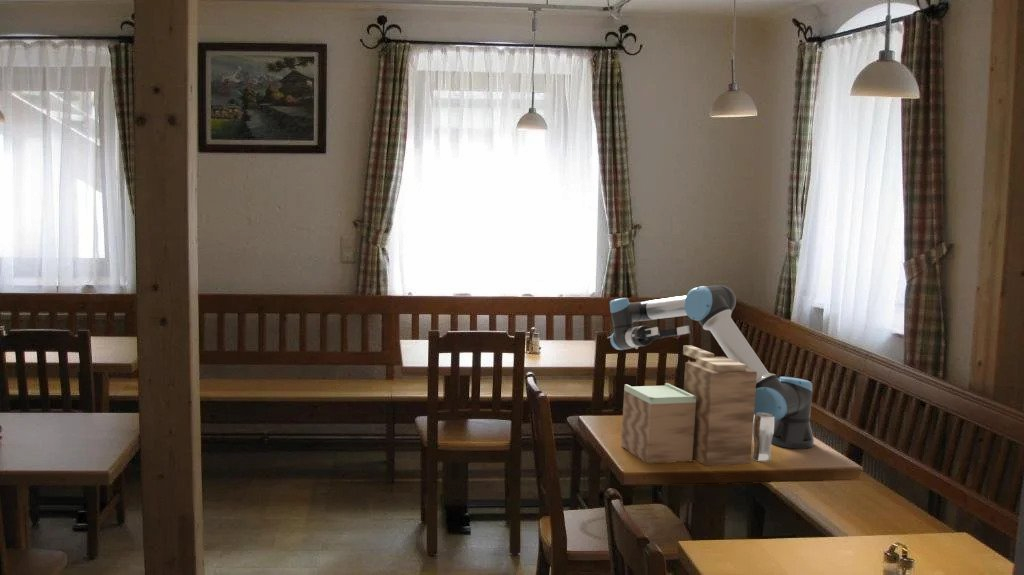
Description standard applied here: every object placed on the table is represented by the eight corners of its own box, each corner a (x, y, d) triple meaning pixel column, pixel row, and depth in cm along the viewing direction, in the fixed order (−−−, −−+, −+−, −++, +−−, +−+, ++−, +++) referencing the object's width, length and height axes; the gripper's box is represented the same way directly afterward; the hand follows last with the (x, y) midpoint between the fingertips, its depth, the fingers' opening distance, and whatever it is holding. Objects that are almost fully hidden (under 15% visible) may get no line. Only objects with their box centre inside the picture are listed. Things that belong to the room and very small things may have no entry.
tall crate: (679, 450, 341) (685, 362, 337) (722, 448, 346) (727, 361, 342) (706, 465, 324) (712, 373, 320) (750, 463, 329) (756, 372, 325)
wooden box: (621, 446, 342) (624, 390, 340) (663, 444, 347) (667, 388, 345) (647, 463, 323) (650, 404, 321) (692, 460, 328) (695, 402, 326)
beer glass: (772, 463, 330) (775, 418, 328) (750, 461, 331) (753, 416, 329) (771, 457, 336) (774, 413, 335) (749, 455, 338) (753, 411, 336)
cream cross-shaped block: (673, 354, 351) (673, 345, 351) (700, 353, 354) (700, 345, 354) (717, 371, 323) (717, 362, 322) (746, 370, 326) (746, 361, 326)
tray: (624, 390, 340) (624, 384, 340) (667, 388, 345) (667, 383, 345) (650, 404, 321) (651, 397, 321) (695, 402, 326) (696, 396, 326)
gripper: (668, 345, 385) (702, 339, 366) (612, 348, 374) (645, 342, 355) (666, 325, 386) (700, 318, 367) (610, 327, 374) (642, 320, 356)
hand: (673, 330), depth 361 cm, fingers open, 13 cm apart
